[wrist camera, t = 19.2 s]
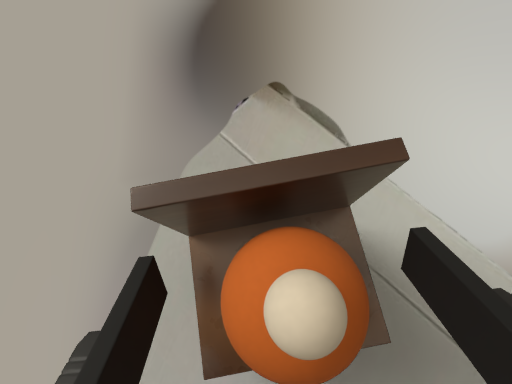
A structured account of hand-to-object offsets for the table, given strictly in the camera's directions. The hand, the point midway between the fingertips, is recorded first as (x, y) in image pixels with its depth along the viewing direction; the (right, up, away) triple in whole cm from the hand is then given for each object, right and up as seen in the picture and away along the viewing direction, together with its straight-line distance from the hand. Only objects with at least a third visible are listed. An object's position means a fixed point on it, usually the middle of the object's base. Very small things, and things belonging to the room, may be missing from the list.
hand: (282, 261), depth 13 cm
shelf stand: (+1, -6, +16) cm, 17 cm away
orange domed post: (+1, -3, +5) cm, 6 cm away
